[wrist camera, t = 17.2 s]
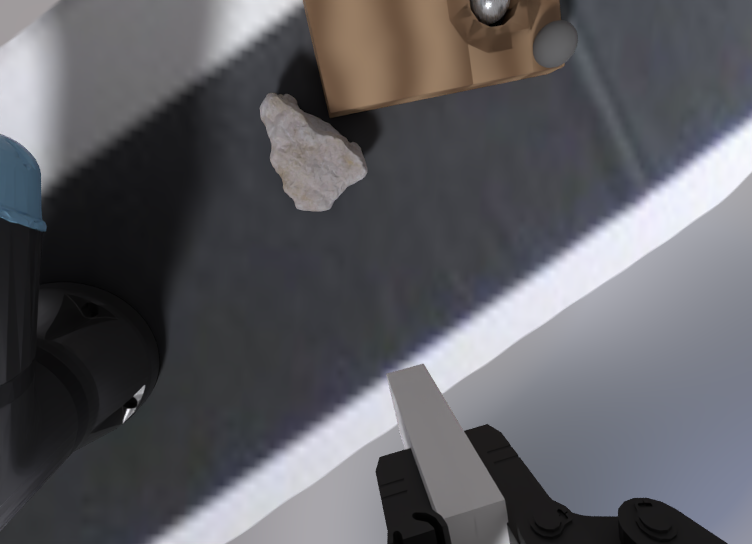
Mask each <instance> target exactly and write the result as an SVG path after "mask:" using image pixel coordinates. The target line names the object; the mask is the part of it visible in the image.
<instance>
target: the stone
mask: <svg viewBox="0 0 752 544" xmlns="http://www.w3.org/2000/svg"><path fill="white" fill-rule="evenodd" d="M260 114H261V120H262V121H263V123H264V124H265V126H266V129H267V133H268V136H269V138H270V141H271V144H272V150H271V154H270V161H271V164H272V166H273V167H274V168H275V170H276V172H277V173H278V174H279V175H280V176H281V178H282V181H283V189H284V191H285V193H287V194H288V195H289V196H290V197H291V198H292V199H293V200H294V202H295V206H296V208H297V209H300V210H304V211H319V212H320V211H325V210H328V209H330V208H331V207H332V205H333V202H334V200H336V199H337V198H338V197H339V196H340V194H341V193H342V192H343V191H344V190H345V189H346V188H347V187H348V186H349V185H352V184H354V183H356V182H357V181H359V180H361V179H363V178H364V177H365V176H366V174H367V171H368V170H367V166H366V162H365V159H364V156H363V154H362V151H361V147H359V146H358V144H357V143H355V142H352V143H350V142H348V140H347V138H345V137H344V136H342V135H340V134H339V132H338V131H337V130H336V129H334V128H333V127H332V126H331V125H330V124H329V123H327V122H324V121H322V120H321V119H320V118H318V117H315V116H313V115H311V114H308V113H305V112H303V111H302V110H301V109H300V108H299V107H298V105H297V101H296V99H295V98H294V97H292V96H291V95H289V94H285V95H284V96H283V95H282V94H279V95H277V94H276V93H269V94H267V96H266V98H265V99H264V100H263V102H262V104H261V106H260Z"/></svg>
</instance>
